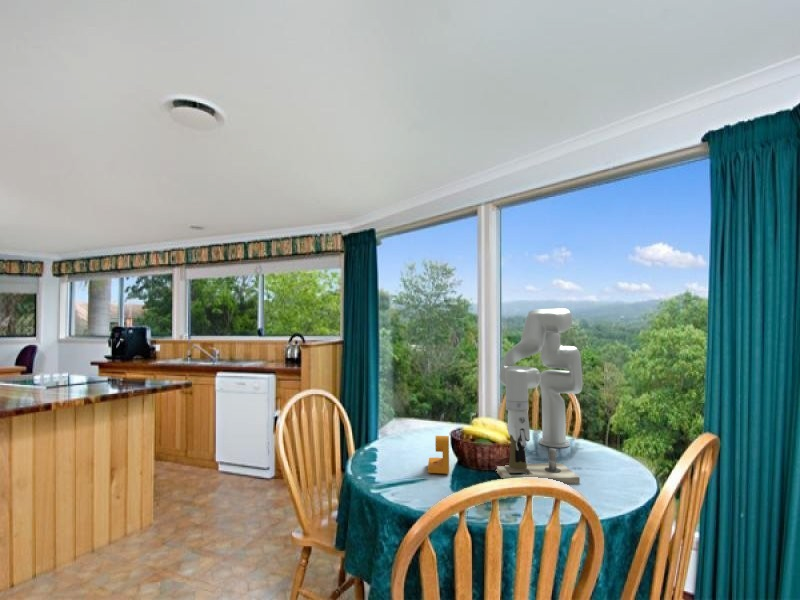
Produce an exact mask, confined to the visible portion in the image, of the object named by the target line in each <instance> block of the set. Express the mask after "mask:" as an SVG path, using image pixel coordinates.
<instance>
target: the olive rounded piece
mask: <svg viewBox="0 0 800 600" xmlns="http://www.w3.org/2000/svg"><path fill="white" fill-rule="evenodd" d="M509 441H510V452H509V460H508V464H509V467H511V468H514V469H525V468H527V464H528V463H527V459H526V457H527V455H525V462H521V461H520V462H518V463H517V462H516V461H515V450H516V441H515V440H514V439H513V437H512V435H510V436H509ZM518 441H521V439H518ZM519 444H521V443H518V446H519Z"/></svg>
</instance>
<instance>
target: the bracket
mask: <svg viewBox="0 0 800 600" xmlns="http://www.w3.org/2000/svg"><path fill="white" fill-rule="evenodd" d="M436 452H437V453H439V452H440V453H442V457H429V458H428V464H427V473H429V474H450V437H449V435H435V453H436Z"/></svg>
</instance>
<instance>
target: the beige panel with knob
mask: <svg viewBox="0 0 800 600" xmlns="http://www.w3.org/2000/svg"><path fill="white" fill-rule="evenodd" d="M496 471H497V472H496ZM495 472H496V473H497V474H498V476H499V477H500V478H501V479H502V478H511V477H538V478H548V479H553V480H556V481H560V482H563V483H566V484H565V485H574V484H576V485H578V484H581V480H580V476H578V475H577V474H576V473H575V472H573V470H571V469H570V468H568V467H567V466H565V465H564V464H563V463H561V462H560V463H559V462H557V448H554V447H549V448H548V463H546V462H545V463H527V468H525V469H514V468H511V467H509V465H505V466H497V469H496V470H495ZM523 473H524V474H523Z"/></svg>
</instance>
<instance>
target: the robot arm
mask: <svg viewBox="0 0 800 600" xmlns="http://www.w3.org/2000/svg"><path fill="white" fill-rule="evenodd" d="M572 323H573V315H572V313H571V311H570V310H569V309H567V308H537V309H532V310H530V311H529V312H528V313H527V316H526V318H525V322H524V325H523V328H522V334H521V336H520V341H519V342H518V343H516V344H515V345H513V346H512V347H511V348H510V349H509V350H508V351H507V352H506V353H505V355H504V357H503V359H502V362H501V366H500V370H499V381H500V383H501V384H502V385H503V386H505V409H506V411H507V433H508V436H509V437H510V435H512V437H513V439H514V440H515V441H516V450H515V461H516V462H517V463H518V462H520V461H521V462H525V456H526V446H527V442H529V441H531V439H530V438H531V435H530V434H531V433H530V422H529V420H530V419H529V413H528V412H529V411H530V410H529V409H530V408H529V389H536V388H538V386H539V387H540V394H541V427H542V429H541V430H542V433H541V435H542V437H540V438H539V439H538V443H539V444H540V445H542V446H544V447H549V448H554V449H557V448H558V449H559V448H560V449H561V448H568V447H570V445H571V442H570V441H569V440H567V434H566V433H567V432H566V429H567V428H566V427H567V426H566V423H567V422H566V403H565V400H564V398H563V396H562V395H561V394H570V395H571V394H573V395H576V394H577V395H578V394H580V393H581V392H582V391H583V387H584V386H583V385H584V383H583V371H582V359H581V357H582V355H581V353H580V350H579V349H578V348H577V347H576V346H571V345H562V343H561V335H560V334H562V333H565V332H566V331H569V329H570V328H571V326H572ZM538 353H540V359H541V360H540V361H541V364H542V366H544V367H546V368H551V369H546V370H542V371H541V372H540V370H539V369H538V368H536V367H532V366H524V365H523V366H522V365H515V364H516V363H517V362H519V361H521V360H523V359H525V358H528V357H531V356H534V355H536V354H538ZM561 369H566V370H561ZM518 439H521V441H518ZM518 443H521V444H519V446H518Z"/></svg>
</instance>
